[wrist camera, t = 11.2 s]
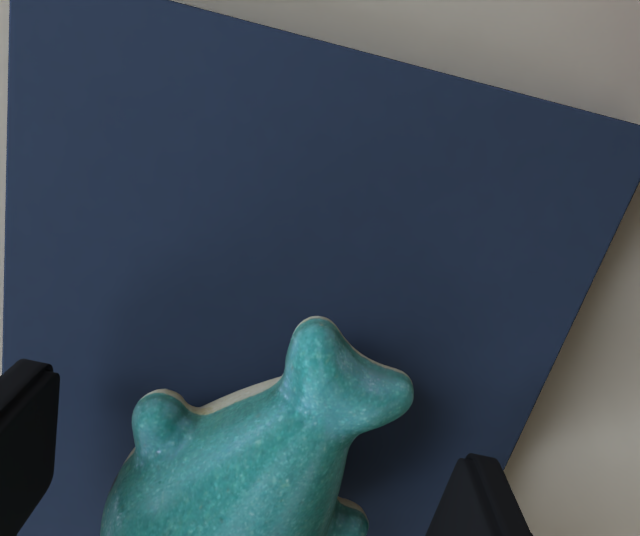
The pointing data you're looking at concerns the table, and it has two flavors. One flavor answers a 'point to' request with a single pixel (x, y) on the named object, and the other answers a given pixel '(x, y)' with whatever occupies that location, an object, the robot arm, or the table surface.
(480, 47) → the table surface
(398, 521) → the play mat
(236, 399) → the whale figurine
